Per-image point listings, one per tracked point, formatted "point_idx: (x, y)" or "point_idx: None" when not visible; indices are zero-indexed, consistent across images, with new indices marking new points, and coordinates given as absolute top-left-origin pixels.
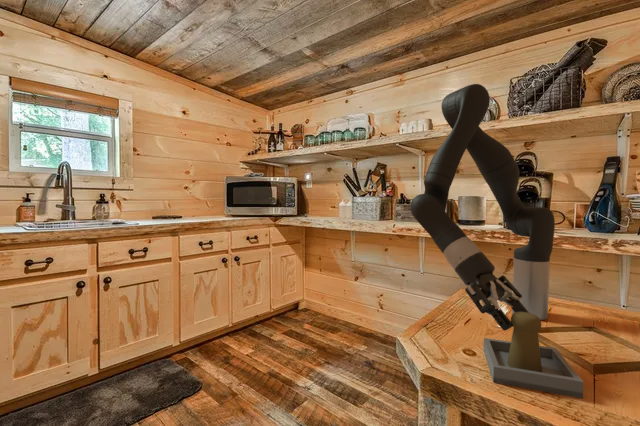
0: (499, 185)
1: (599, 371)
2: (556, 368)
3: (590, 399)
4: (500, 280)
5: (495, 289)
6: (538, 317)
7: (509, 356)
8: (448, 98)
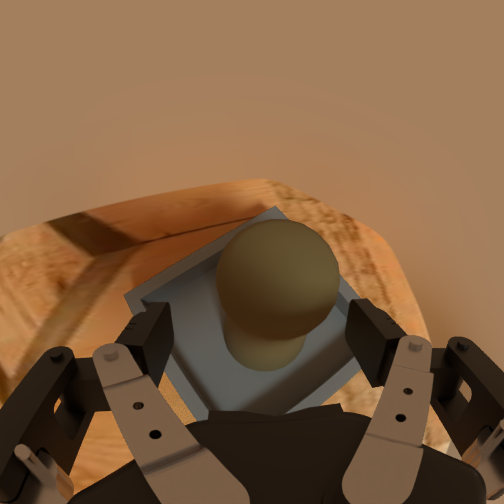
0: None
1: (121, 240)
2: (201, 282)
3: None
4: (29, 493)
5: (370, 426)
6: (255, 223)
7: (296, 353)
8: None
